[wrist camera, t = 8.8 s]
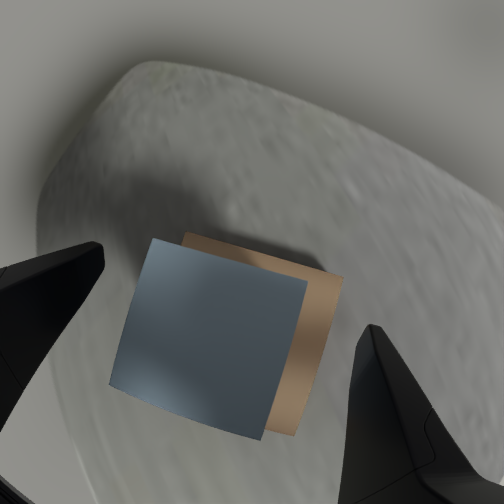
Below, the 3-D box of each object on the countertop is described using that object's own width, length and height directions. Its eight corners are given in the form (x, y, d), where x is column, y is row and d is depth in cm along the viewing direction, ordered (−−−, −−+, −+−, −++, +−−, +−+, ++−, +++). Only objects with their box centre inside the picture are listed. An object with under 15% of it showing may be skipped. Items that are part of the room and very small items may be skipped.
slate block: (264, 388, 17) (260, 440, 8) (182, 362, 17) (108, 384, 9) (288, 305, 18) (308, 281, 9) (206, 282, 18) (153, 237, 10)
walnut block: (290, 422, 19) (294, 436, 16) (152, 376, 20) (136, 382, 17) (333, 284, 21) (343, 277, 18) (196, 244, 22) (185, 231, 19)
